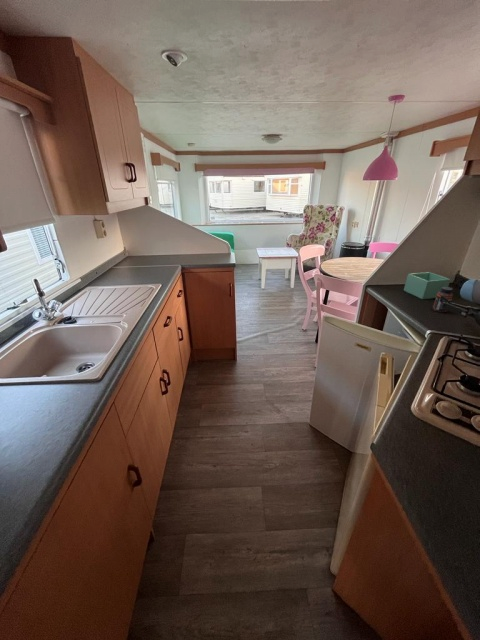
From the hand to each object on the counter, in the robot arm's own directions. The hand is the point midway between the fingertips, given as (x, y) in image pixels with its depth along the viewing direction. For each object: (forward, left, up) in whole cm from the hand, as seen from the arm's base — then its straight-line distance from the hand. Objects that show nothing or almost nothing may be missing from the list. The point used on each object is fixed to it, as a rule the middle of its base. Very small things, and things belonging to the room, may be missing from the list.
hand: (458, 298), depth 114 cm
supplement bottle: (+9, -3, -10) cm, 14 cm away
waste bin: (+29, -12, -10) cm, 33 cm away
